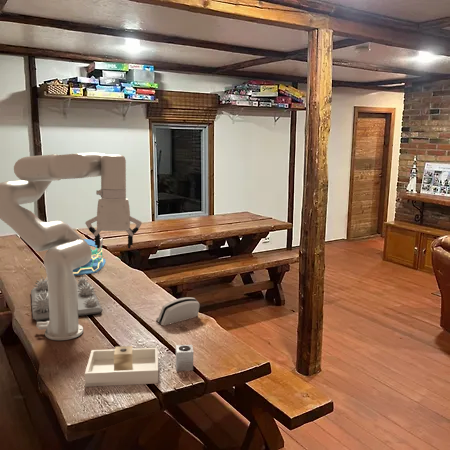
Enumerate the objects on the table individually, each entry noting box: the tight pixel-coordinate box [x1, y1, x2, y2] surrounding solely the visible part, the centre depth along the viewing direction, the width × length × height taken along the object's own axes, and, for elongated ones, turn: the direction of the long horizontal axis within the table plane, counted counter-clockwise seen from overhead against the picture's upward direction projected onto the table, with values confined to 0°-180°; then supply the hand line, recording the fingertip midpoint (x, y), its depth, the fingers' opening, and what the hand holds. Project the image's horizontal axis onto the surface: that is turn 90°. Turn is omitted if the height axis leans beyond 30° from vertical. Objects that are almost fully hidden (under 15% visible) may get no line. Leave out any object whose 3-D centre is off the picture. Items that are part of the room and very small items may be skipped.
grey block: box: [175, 344, 194, 372], centre depth 138 cm, size 5×5×6 cm
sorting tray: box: [84, 347, 159, 388], centre depth 134 cm, size 20×14×4 cm
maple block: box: [114, 345, 134, 371], centre depth 133 cm, size 5×5×6 cm
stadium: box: [73, 237, 106, 276], centre depth 239 cm, size 35×24×14 cm
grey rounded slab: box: [155, 296, 201, 326], centre depth 173 cm, size 17×5×10 cm, turn 130°
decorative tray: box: [30, 276, 104, 322], centre depth 186 cm, size 35×26×10 cm
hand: (114, 247), depth 145 cm, fingers open, 9 cm apart
